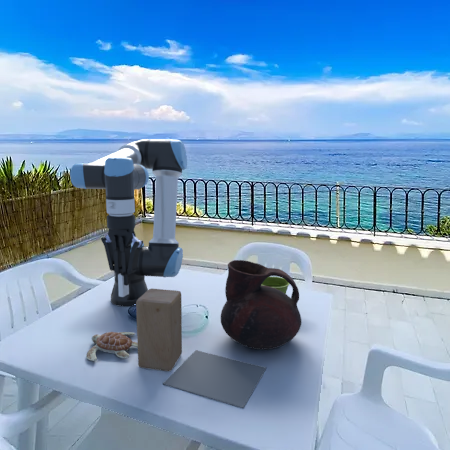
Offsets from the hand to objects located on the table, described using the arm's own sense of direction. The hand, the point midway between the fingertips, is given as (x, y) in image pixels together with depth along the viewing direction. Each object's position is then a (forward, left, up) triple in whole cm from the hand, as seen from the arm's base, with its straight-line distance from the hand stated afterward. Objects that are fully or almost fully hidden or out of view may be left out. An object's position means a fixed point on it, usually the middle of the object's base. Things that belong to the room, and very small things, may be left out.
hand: (123, 295), depth 106 cm
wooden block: (0, +12, -18) cm, 22 cm away
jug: (-23, +34, -18) cm, 45 cm away
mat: (0, +29, -18) cm, 34 cm away
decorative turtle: (0, -5, -19) cm, 19 cm away
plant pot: (-48, +31, -18) cm, 60 cm away
